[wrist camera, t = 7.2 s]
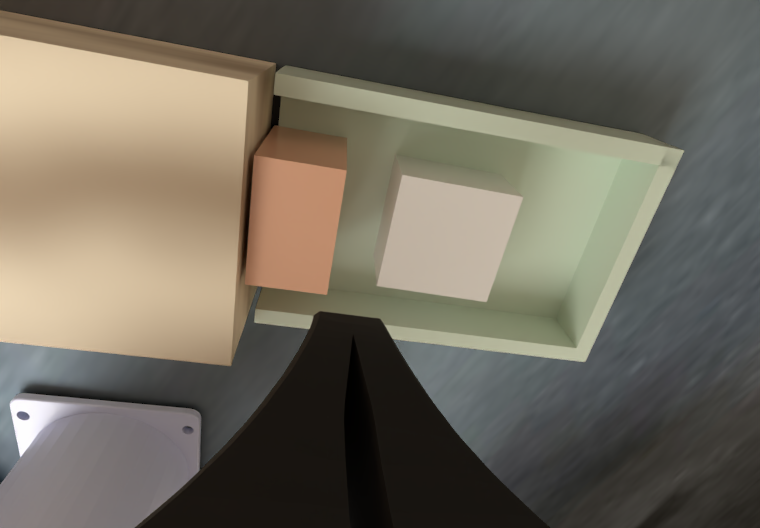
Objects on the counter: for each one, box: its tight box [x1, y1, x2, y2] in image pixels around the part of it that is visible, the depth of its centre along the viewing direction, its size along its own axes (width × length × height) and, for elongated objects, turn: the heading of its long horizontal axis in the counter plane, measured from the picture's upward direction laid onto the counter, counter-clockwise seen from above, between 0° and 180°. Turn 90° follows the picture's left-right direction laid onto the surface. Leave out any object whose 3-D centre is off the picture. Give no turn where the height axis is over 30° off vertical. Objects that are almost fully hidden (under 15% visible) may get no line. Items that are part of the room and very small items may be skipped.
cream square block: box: [373, 154, 523, 302], centre depth 17 cm, size 4×4×2 cm
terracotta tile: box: [245, 125, 347, 295], centre depth 16 cm, size 4×4×2 cm
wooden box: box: [0, 10, 276, 366], centre depth 15 cm, size 9×14×5 cm, turn 79°
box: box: [254, 65, 684, 362], centre depth 18 cm, size 9×13×2 cm, turn 79°
